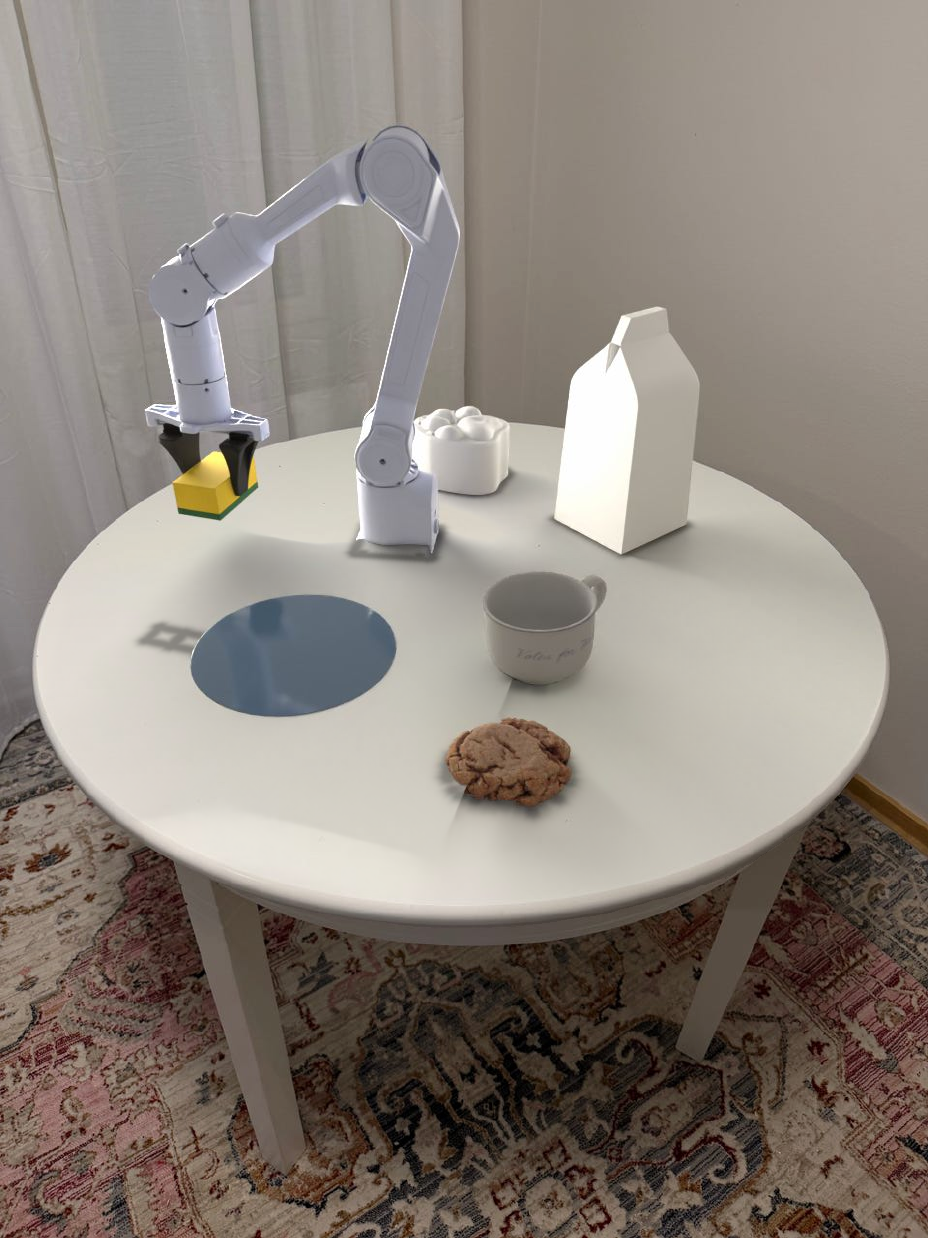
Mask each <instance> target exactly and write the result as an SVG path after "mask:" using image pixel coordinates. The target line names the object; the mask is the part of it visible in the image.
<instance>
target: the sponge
mask: <svg viewBox="0 0 928 1238" xmlns="http://www.w3.org/2000/svg"><path fill="white" fill-rule="evenodd" d="M171 483H172V488H173V493H174V498H175V503H176V507H177V513H178V514H179V515H184V516H188V517H189V516H190V517H195V518H202V519H207V520H215V521H220V522H221V521H222V520H223V519H225V517H227V516H228V515H229V514H230V513H231V512H232V511H233V510H235V509H236V508H237V507H238V506H239V505H241V503H243V501H245V500H246V499H247V498H248V497H249V496H251V495H252V494H253V493H254V492H255V491H256V490H257V489H259V482H258V476H257V468H256V460H255V456H253V458H252V462H251V467H250V473H249V482H248V490H247V491H246V492H245V493H244V494H242V495H241V496H235V494H234V491H233V488H232V484H231V479H230V473H229V469H228V466H227V463H226V461H225V458H224V456H223V454H222V452H221V451H212V452H210V454H208V455H207V456H205V457H204V458H203V459H201V461H200V462H199V463H198V464H196V465H195V466H194V467H192V468H191V469H190V470H188V471H187V472H186V473H184V474H181V475H180V476H179V477H178V478H175V480H173V481H172V482H171Z"/></svg>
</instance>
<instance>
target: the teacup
mask: <svg viewBox="0 0 928 1238" xmlns="http://www.w3.org/2000/svg"><path fill="white" fill-rule="evenodd" d="M607 590H608V589H607V583H606V581H605V579H604V578H603V577H601V576H600V575H597V574H593V573H589V574H586V575H585V576H583V577H582V578H581V579H577V578H576V577H573V576H570V575H567V574H563V573H558V572H554V571H553V572H552V571H529V572H520V573H514V574H511V575H508V576H505V577H502V578H500V579H499V580H497V581H495V582H494V583H492V584H490V585H489V587H488V588H487V589H486V590H485V592H484V593H483V596H482V600H481V603H482V609H483V617H484V619H483V620H484V634H485V645H486V650H487V653H488V656H489V658H490V659H491V662H492V663H493V664H494V665H495V666H496V667H497V668H498V669H499V670H500V671H501V672H503V674H505V675H507V676H509V677H511V678H513V679H515V680H517V681H519V682H522V683H525V684H531V685H550V684H554V683H557V682H560V681H562V680H566V679H567V678H568V677H570V676H573V675H574V674H576V673H577V672H579V671H580V670H582V668H583V667H584V666H585V665H586V663H587V662H588V660H589V659H590V657H591V654H592V650H593V647H594V639H595V629H596V628H595V627H596V613H597V612H598V610H599V609H600V608H601V606H602V604H603V603H604V601H605V599H606V596H607Z"/></svg>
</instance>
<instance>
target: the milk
mask: <svg viewBox="0 0 928 1238" xmlns="http://www.w3.org/2000/svg"><path fill="white" fill-rule="evenodd" d="M668 317H669V316H668V310H667V308H665V307H661V306H657V305H656V306H654V307H649V308H645V309H642V310H638V311H633V312H630V313H626V314H622V315H620V318H619V321H618V323H617V326H616V328H615V331H614V333H613V335H612V338H611V341H610V342H609V343H607V345H606V346H605V347H604V348H602V349H601V350H600V351H599V352H597V353H596V354H595V355H594V356H593V357H591V358H590V359H589V360H587V361H586V362H585V363H584V364H583V365H581V366H580V367H579V368H578V369H577V370H576V371H575V372H574V374H573V376H572V378H571V381H570V386H569V394H568V402H567V409H566V410H567V411H566V417H565V426H564V436H563V444H562V451H561V460H560V469H559V477H558V485H557V492H556V499H555V500H556V502H555V509H554V517H553V519H554V520H556V521H557V522H559V523H561V524H562V525H565V526H567V527H569V528H571V529H572V530H574V531H576V532H578V533H580V534H582V535H583V536H586V537H587V538H589V539H591V540H593V541H594V542H597V543H599V544H601V545H602V546H604V547H606V548H608V549H610V550H611V551H614V552H615V553H617V554H619V555H623V554H626V553H628V552H630V551H632V550H635V549H637V548H639V547H640V546H643V545H645V544H648V543H650V542H651V541H654V540H656V539H659V538H661V537H663V536H664V535H667V534H670V533H672V532H673V531H675V530H678V529H680V528H682V527H684V526H687V523H688V514H689V504H690V503H689V502H690V493H691V482H692V474H693V473H692V472H693V464H694V454H695V441H696V432H697V422H698V421H697V420H698V413H699V412H698V411H699V402H700V391H701V389H700V388H701V383H700V380H699V376H698V374H697V372H696V370H695V368H694V367H693V364H692V363H691V362H690V361H689V359H688V357H687V356H686V355H685V353H684V352H683V350H682V348H681V347H680V345H679V344H678V343H677V341H676V339H675V338H674V337H673V335H672V334H671V332H670V326H669V318H668Z"/></svg>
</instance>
